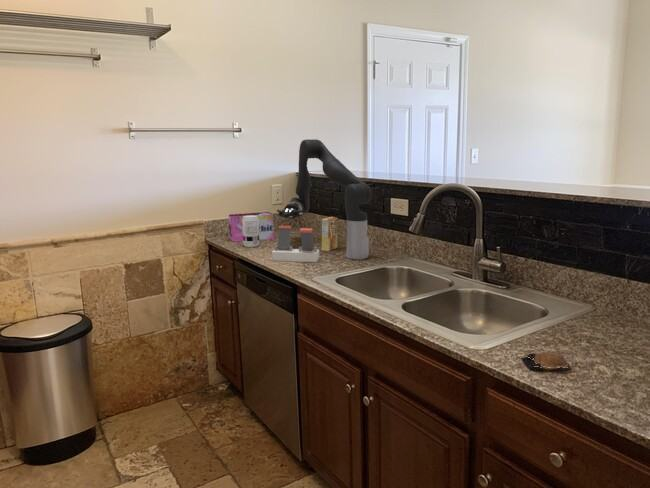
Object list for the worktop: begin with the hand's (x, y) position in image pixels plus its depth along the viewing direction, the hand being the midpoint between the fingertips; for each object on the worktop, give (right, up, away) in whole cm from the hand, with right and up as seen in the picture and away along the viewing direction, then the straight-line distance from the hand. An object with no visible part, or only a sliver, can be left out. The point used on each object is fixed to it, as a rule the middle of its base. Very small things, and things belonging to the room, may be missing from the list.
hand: (285, 215), depth 228 cm
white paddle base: (+5, -20, -7) cm, 22 cm away
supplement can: (-19, -14, +22) cm, 32 cm away
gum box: (-21, -10, +39) cm, 45 cm away
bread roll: (+71, -43, -110) cm, 138 cm away
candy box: (+20, -16, +14) cm, 29 cm away
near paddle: (+11, -15, -9) cm, 21 cm away
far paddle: (0, -15, -7) cm, 17 cm away
